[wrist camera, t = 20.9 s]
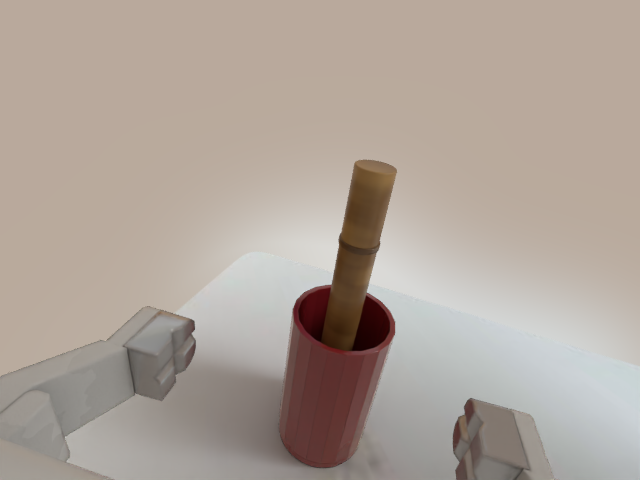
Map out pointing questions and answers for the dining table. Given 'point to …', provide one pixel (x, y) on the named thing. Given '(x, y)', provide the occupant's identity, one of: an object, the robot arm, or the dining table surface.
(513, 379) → the dining table surface
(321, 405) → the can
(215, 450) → the dining table surface
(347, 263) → the tan rod with ring
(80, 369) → the robot arm
